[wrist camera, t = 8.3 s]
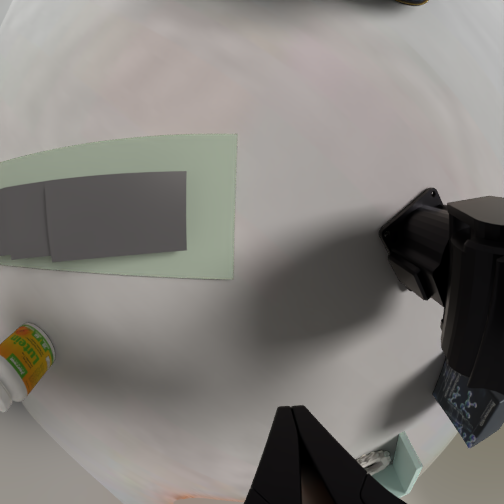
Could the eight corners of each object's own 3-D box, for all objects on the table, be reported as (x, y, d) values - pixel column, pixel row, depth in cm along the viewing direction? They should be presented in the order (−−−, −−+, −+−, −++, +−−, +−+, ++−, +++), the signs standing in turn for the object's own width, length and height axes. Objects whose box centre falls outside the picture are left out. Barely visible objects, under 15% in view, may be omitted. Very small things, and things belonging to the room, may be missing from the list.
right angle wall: (403, 428, 28) (422, 466, 21) (395, 462, 31) (409, 493, 24) (322, 458, 29) (332, 501, 21) (329, 485, 32) (337, 519, 25)
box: (447, 346, 23) (500, 403, 13) (478, 333, 23) (530, 380, 13) (430, 395, 26) (468, 451, 15) (461, 381, 26) (500, 429, 15)
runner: (237, 135, 17) (237, 134, 17) (233, 277, 20) (233, 279, 20) (-31, 173, 16) (-34, 173, 16) (-23, 260, 19) (-26, 261, 18)
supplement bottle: (59, 342, 22) (9, 401, 12) (53, 371, 23) (13, 426, 13) (23, 312, 21) (-32, 359, 11) (20, 343, 22) (-25, 390, 13)
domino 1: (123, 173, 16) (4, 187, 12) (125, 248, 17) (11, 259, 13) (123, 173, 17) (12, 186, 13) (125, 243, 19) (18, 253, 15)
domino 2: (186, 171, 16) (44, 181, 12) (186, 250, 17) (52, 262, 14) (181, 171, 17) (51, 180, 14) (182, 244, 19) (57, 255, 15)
